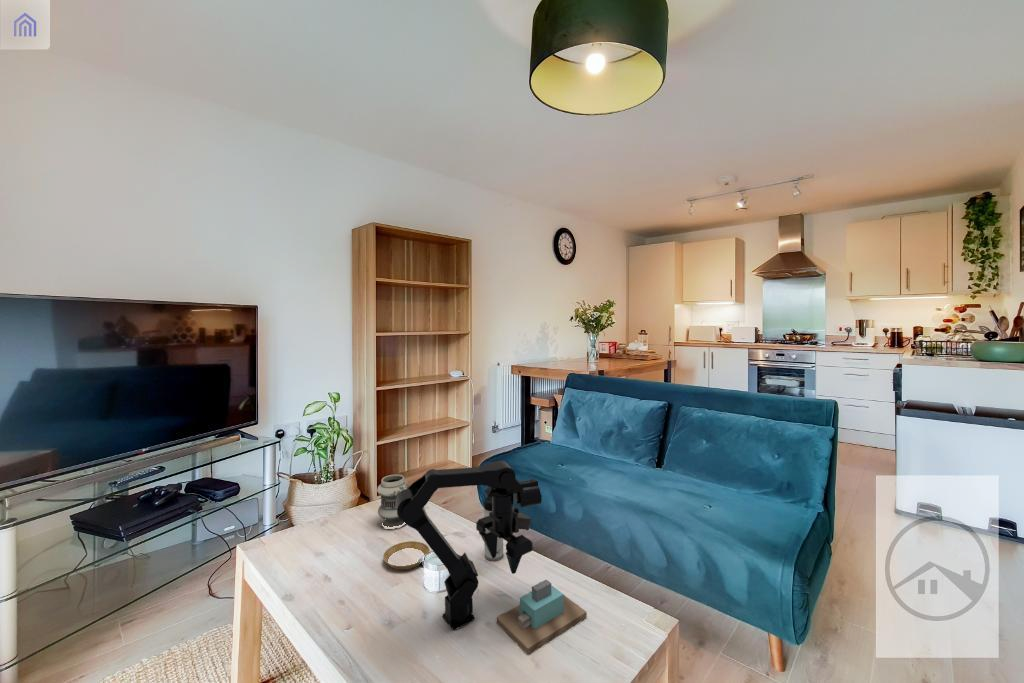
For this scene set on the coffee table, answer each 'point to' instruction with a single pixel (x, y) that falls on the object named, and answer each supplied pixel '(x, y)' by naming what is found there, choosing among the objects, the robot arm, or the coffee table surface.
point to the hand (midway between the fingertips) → (503, 565)
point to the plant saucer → (403, 545)
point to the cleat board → (536, 638)
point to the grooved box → (542, 603)
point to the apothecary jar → (390, 498)
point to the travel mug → (499, 540)
